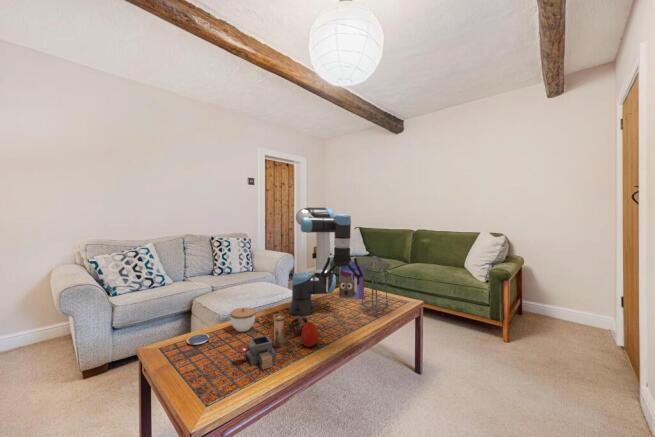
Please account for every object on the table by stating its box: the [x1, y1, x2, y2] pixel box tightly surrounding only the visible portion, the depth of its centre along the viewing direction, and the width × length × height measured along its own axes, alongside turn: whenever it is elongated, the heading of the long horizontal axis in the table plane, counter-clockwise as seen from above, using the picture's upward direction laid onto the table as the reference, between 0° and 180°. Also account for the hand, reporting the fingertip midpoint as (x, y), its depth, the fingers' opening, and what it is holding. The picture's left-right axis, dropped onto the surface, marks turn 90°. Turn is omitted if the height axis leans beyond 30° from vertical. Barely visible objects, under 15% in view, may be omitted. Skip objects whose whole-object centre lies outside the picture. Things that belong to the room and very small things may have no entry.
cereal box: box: [338, 263, 365, 300], centre depth 200 cm, size 17×5×24 cm, turn 81°
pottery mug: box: [287, 316, 308, 333], centre depth 143 cm, size 12×10×8 cm
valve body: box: [236, 334, 277, 371], centre depth 118 cm, size 20×15×7 cm
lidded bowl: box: [229, 307, 257, 333], centre depth 145 cm, size 13×13×11 cm
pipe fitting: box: [272, 312, 286, 349], centre depth 129 cm, size 5×5×14 cm
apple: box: [300, 321, 320, 348], centre depth 130 cm, size 8×8×11 cm
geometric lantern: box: [359, 255, 392, 316], centre depth 172 cm, size 16×16×35 cm
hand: (341, 291), depth 132 cm, fingers open, 13 cm apart
